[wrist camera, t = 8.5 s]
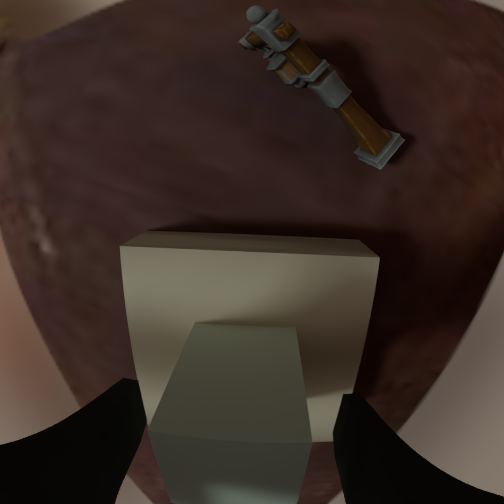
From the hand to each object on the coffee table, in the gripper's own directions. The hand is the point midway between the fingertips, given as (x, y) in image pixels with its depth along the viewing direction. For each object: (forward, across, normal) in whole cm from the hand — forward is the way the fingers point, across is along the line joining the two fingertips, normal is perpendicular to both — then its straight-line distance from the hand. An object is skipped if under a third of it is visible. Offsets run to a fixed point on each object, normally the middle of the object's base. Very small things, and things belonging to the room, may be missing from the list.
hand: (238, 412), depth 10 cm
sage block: (+3, 0, 0) cm, 3 cm away
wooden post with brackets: (+6, -2, -11) cm, 13 cm away
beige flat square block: (+6, 0, 0) cm, 6 cm away
